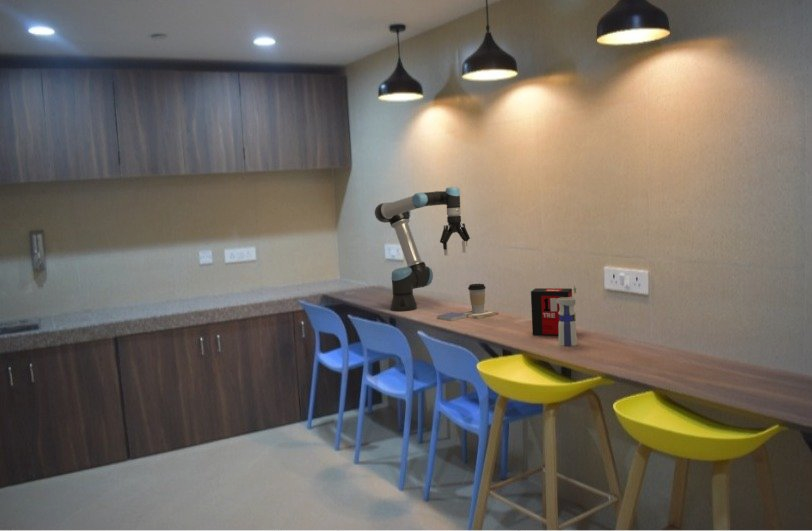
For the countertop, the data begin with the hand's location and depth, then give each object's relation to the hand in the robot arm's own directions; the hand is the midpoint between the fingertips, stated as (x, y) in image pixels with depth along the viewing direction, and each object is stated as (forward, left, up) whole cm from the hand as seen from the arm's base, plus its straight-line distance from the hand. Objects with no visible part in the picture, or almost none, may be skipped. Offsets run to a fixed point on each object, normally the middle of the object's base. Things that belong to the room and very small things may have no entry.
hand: (455, 254), depth 381 cm
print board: (+20, -4, -31) cm, 37 cm away
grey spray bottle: (+97, -28, -32) cm, 106 cm away
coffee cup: (+20, -4, -30) cm, 36 cm away
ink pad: (+14, -18, -31) cm, 39 cm away
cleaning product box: (+80, -17, -32) cm, 87 cm away
